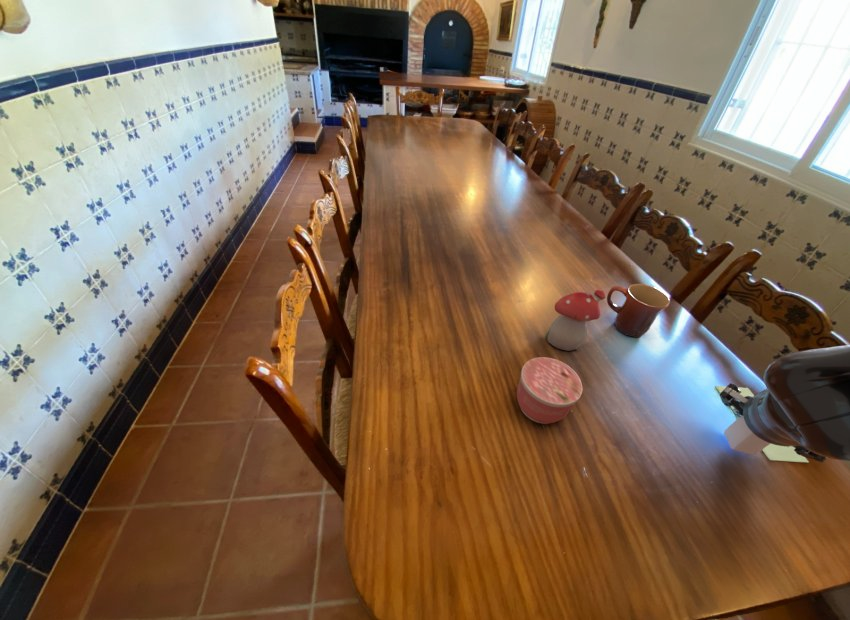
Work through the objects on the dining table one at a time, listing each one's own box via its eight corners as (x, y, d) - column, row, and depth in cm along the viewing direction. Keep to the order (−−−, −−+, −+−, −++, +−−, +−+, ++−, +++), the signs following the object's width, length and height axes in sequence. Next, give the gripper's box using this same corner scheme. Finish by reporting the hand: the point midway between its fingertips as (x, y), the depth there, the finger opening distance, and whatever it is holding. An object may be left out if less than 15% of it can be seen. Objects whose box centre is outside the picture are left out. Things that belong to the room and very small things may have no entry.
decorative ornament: (584, 339, 83) (610, 287, 73) (583, 358, 78) (611, 305, 68) (543, 327, 85) (563, 275, 75) (540, 346, 80) (562, 293, 70)
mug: (651, 326, 88) (672, 293, 81) (644, 346, 82) (667, 313, 75) (601, 306, 93) (617, 274, 86) (592, 324, 87) (609, 290, 80)
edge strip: (808, 462, 62) (809, 462, 62) (769, 460, 62) (770, 460, 62) (747, 388, 74) (748, 387, 74) (714, 386, 74) (715, 385, 74)
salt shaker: (745, 436, 65) (782, 405, 58) (755, 456, 62) (796, 426, 55) (721, 431, 65) (756, 399, 59) (730, 451, 62) (768, 420, 56)
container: (537, 440, 62) (551, 414, 57) (500, 395, 69) (509, 368, 64) (579, 416, 66) (595, 390, 61) (540, 376, 73) (552, 349, 68)
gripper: (878, 437, 43) (828, 441, 56) (747, 360, 52) (730, 379, 65) (830, 481, 44) (792, 474, 57) (709, 398, 53) (700, 409, 66)
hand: (759, 424), depth 61 cm, fingers closed on salt shaker, 5 cm apart
